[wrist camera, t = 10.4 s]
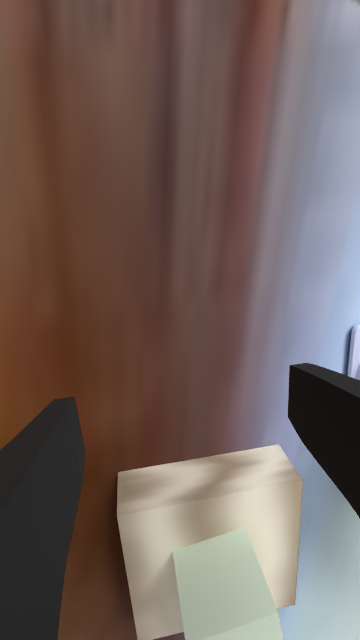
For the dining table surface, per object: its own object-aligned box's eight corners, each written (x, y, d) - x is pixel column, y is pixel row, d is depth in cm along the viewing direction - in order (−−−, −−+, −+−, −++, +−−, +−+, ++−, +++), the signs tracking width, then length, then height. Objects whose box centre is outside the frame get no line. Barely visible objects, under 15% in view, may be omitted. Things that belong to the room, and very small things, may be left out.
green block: (244, 526, 22) (278, 612, 17) (256, 576, 23) (289, 667, 19) (172, 551, 21) (186, 645, 17) (189, 600, 23) (205, 698, 18)
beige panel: (276, 440, 25) (302, 480, 21) (272, 553, 29) (295, 604, 25) (117, 468, 24) (116, 516, 20) (136, 583, 27) (138, 643, 24)
